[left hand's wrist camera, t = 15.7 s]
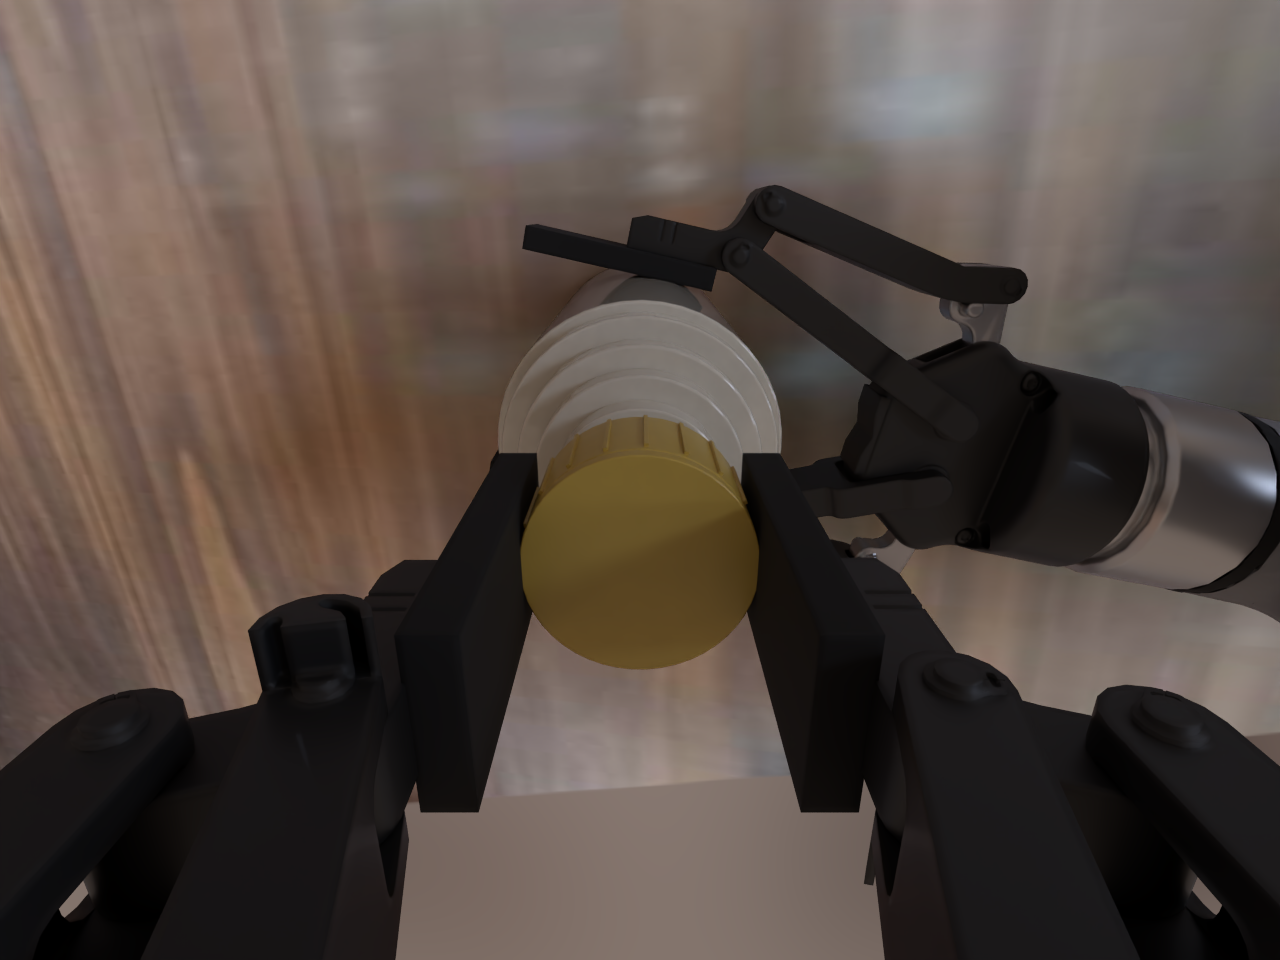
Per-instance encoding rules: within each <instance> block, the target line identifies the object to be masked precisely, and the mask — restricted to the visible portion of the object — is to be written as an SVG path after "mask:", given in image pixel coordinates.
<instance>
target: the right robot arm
mask: <svg viewBox="0 0 1280 960" xmlns="http://www.w3.org/2000/svg"><path fill="white" fill-rule="evenodd" d="M775 231H776V232H779V233H781V234H783V235H786V236H788V237H790V238H793V239H795V240H797V241H800V242H802V243H804V244H807V245H809V246H811V247H814V248H816V249H818V250H821V251H823V252H825V253H828V254H830V255H832V256H835V257H837V258H839V259H842V260H844V261H846V262H849V263H851V264H853V265H856V266H858V267H860V268H863V269H865V270H867V271H870V272H872V273H874V274H877V275H879V276H881V277H884V278H886V279H888V280H891V281H893V282H895V283H898V284H900V285H902V286H905V287H907V288H909V289H912V290H915V291H918V292H921V293H924V294H928V295H932V296H935V297H939V298H940V305H939V309H940V312H941V314H942V315H943V317H945V318H946V319H949V320H952V321H955V322H956V323H958V324H959V325H960V327H961V329H962V338H961V339H959V340H956V341H954V342H951V343H949V344H946V345H944V346H942V347H939V348H937V349H934V350H932V351H929V352H927V353H925V354H922V355H920V356H917V357H915V358H912V359H910V360H908V361H906V360H905V359H904V358H902V357H901V356H900V355H898V354H897V353H896V352H894V351H893V350H891V349H890V348H888V347H887V346H886V345H884V344H883V343H882V342H880V341H879V340H878V339H877V338H875V337H874V336H873V335H871V334H870V333H869V332H868V331H866V330H865V329H864V328H862V327H861V326H860V325H859V324H857V323H856V322H855V321H853V320H852V319H851V318H849V317H848V316H847V315H846V314H844V313H843V312H842V311H840V310H839V309H838V308H837V307H835V306H834V305H833V304H831V303H830V302H829V301H828V300H826V299H825V298H824V297H822V296H821V295H820V294H819V293H817V292H816V291H815V290H813V289H812V288H811V287H810V286H808V285H807V284H806V283H804V282H803V281H802V280H801V279H799V278H798V277H797V276H795V275H794V274H793V273H791V272H790V271H789V270H788V269H786V268H785V267H784V266H782V265H781V264H780V263H779V262H777V261H776V260H775V259H773V258H772V257H771V256H770V255H768V254H767V253H766V252H764V251H763V249H764V247H765V246H766V244H767V242H768V241H769V239H770V238H771V236H772V235H773V233H774V232H775ZM522 249H526V250H530V251H534V252H539V253H543V254H548V255H552V256H556V257H561V258H565V259H570V260H574V261H578V262H583V263H587V264H592V265H596V266H601V267H605V268H609V269H614V270H618V271H623V272H627V273H631V274H636V275H640V276H645V277H649V278H653V279H658V280H663V281H667V282H671V283H676V284H680V285H684V286H689V287H693V288H698V289H702V290H706V291H712V287H713V283H714V279H715V275H716V271H717V270H721V271H725V272H729V273H730V274H732V275H733V276H734V277H735V278H737V279H738V280H739V281H741V282H742V283H743V284H745V285H746V286H747V287H749V288H750V289H751V290H753V291H754V292H755V293H757V294H758V295H759V296H761V297H762V298H763V299H765V300H766V301H767V302H769V303H770V304H771V305H772V306H774V307H775V308H776V309H778V310H779V311H780V312H782V313H783V314H784V315H786V316H787V317H788V318H790V319H791V320H792V321H794V322H795V323H796V324H798V325H799V326H800V327H802V328H803V329H804V330H805V331H807V332H808V333H809V334H811V335H812V336H813V337H815V338H816V339H817V340H819V341H820V342H821V343H823V344H824V345H825V346H827V347H828V348H829V349H831V350H832V351H833V352H835V353H836V354H837V355H838V356H840V357H841V358H842V359H844V360H845V361H846V362H848V363H849V364H850V365H851V366H853V367H854V368H855V369H857V370H858V371H859V372H861V373H862V374H863V375H865V376H866V377H867V378H869V379H870V380H871V381H872V382H871V384H870V385H867V384H864V387H863V390H862V393H861V396H860V399H859V402H858V415H857V423H856V424H855V426H854V427H853V429H852V431H851V432H850V434H849V435H848V437H847V438H846V440H845V443H844V446H843V449H842V452H841V455H840V456H837V457H832V458H826V459H821V460H818V461H816V462H815V463H814V464H813V465H811V466H806V467H800V468H794V469H789V470H790V472H791V474H792V475H793V477H794V479H795V481H796V482H797V484H798V486H799V487H800V489H801V491H802V493H803V494H804V496H805V498H806V499H807V501H808V503H809V505H810V506H811V508H812V510H813V511H814V513H815V515H816V517H822V516H833V517H836V518H852V517H858V516H864V515H870V514H876V516H877V517H878V518H879V519H880V520H881V521H882V523H883V524H884V525H885V526H886V527H887V529H888V531H887V532H886V533H885V534H884V535H883V536H881V537H879V538H875V539H870V538H861V537H856V538H854V539H853V540H852V542H851V545H850V544H847V543H844V542H840V541H836V540H830V541H831V542H832V544H833V546H834V547H835V549H836V551H837V553H838V554H839V556H840V558H877V559H878V560H880V561H881V562H883V563H884V564H886V565H887V566H889V567H890V568H892V569H893V570H895V571H897V572H898V573H899V574H900V573H901V571H902V570H903V568H904V566H905V565H906V563H907V562H908V560H909V559H910V557H911V555H912V554H913V552H914V551H915V549H928V548H931V547H935V546H940V545H957V546H961V547H964V548H968V549H972V550H976V551H980V552H984V553H989V554H994V555H999V556H1004V557H1009V558H1014V559H1019V560H1024V561H1029V562H1034V563H1039V564H1044V565H1049V566H1057V567H1059V566H1064V567H1067V568H1069V569H1071V570H1074V571H1076V572H1081V573H1086V574H1091V575H1097V576H1102V577H1107V578H1113V579H1118V580H1123V581H1129V582H1134V583H1139V584H1145V585H1150V586H1155V587H1161V588H1165V589H1168V590H1172V591H1177V592H1186V593H1190V594H1195V595H1199V596H1204V597H1208V598H1213V599H1217V600H1222V601H1226V602H1231V603H1235V604H1240V605H1244V606H1247V607H1249V608H1252V609H1255V610H1258V611H1260V612H1262V613H1264V614H1266V615H1268V616H1270V617H1272V618H1274V619H1275V620H1277V621H1278V622H1280V422H1279V421H1274V420H1269V419H1264V418H1260V417H1255V416H1251V415H1248V414H1245V413H1242V412H1238V411H1235V410H1231V409H1227V408H1223V407H1218V406H1214V405H1210V404H1205V403H1201V402H1197V401H1192V400H1188V399H1184V398H1179V397H1175V396H1171V395H1167V394H1162V393H1158V392H1154V391H1149V390H1145V389H1140V388H1135V387H1129V386H1123V387H1120V386H1119V385H1117V384H1115V383H1113V382H1110V381H1106V380H1102V379H1097V378H1093V377H1088V376H1084V375H1080V374H1075V373H1071V372H1066V371H1062V370H1058V369H1053V368H1049V367H1044V366H1040V365H1036V364H1031V363H1027V362H1022V361H1019V360H1017V359H1016V358H1015V357H1014V356H1013V355H1012V354H1011V353H1010V352H1009V351H1008V350H1007V349H1006V348H1005V347H1004V346H1002V345H1000V339H1001V335H1002V330H1003V325H1004V320H1005V316H1006V311H1007V306H1008V304H1011V303H1014V302H1016V301H1018V300H1020V299H1021V297H1022V296H1023V295H1024V294H1025V292H1026V289H1027V287H1028V279H1027V277H1026V274H1025V273H1024V272H1023V271H1022V270H1020V269H1016V268H1010V267H1003V266H997V265H990V264H983V263H955V262H953V261H951V260H948V259H946V258H944V257H942V256H939V255H937V254H935V253H932V252H930V251H928V250H926V249H923V248H921V247H919V246H916V245H914V244H912V243H910V242H907V241H905V240H903V239H900V238H898V237H896V236H894V235H891V234H889V233H887V232H885V231H882V230H880V229H878V228H875V227H873V226H871V225H869V224H866V223H864V222H862V221H859V220H857V219H855V218H853V217H850V216H848V215H846V214H844V213H841V212H839V211H837V210H834V209H832V208H830V207H828V206H825V205H823V204H821V203H818V202H816V201H814V200H812V199H809V198H807V197H805V196H802V195H800V194H798V193H796V192H793V191H791V190H789V189H787V188H784V187H782V186H777V185H772V186H766V187H762V188H759V189H755V190H754V191H753V192H751V193H750V194H749V196H748V198H747V199H746V203H745V205H744V206H743V208H742V209H741V211H740V212H739V214H738V216H737V217H736V219H735V220H734V221H733V223H732V224H731V225H729V226H728V227H727V228H724V229H722V230H717V231H715V230H709V229H704V228H700V227H696V226H691V225H687V224H683V223H679V222H674V221H670V220H666V219H662V218H657V217H653V216H649V215H646V216H641V217H635V218H632V222H631V227H630V232H629V237H628V242H627V245H626V244H621V243H617V242H613V241H608V240H604V239H600V238H595V237H591V236H587V235H582V234H578V233H573V232H569V231H565V230H560V229H556V228H552V227H547V226H543V225H539V224H534V225H526V228H525V234H524V241H523V248H522ZM498 456H499V449H498V451H497V452H496V454H495V456H494V457H493V459H492V461H491V465H490V470H491V468H492V466H493V464H494V463H495V461H496V459H497V457H498Z"/></svg>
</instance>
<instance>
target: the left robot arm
mask: <svg viewBox="0 0 1280 960" xmlns="http://www.w3.org/2000/svg"><path fill="white" fill-rule="evenodd" d="M741 486H742V489H743V491H744V494H745V497H746V499H747V502H748V504H746V506H747V509H748V512H749V514H750V517H751V520H752V523H753V525H754V528H755V531H756V534H757V538H758V542H759V561H758V576H757V588H756V593H755V595H754V598H753V600H752V603H751V605H750V607H749V608H748V610H747V613H748V617H749V621H750V624H751V628H752V632H753V636H754V639H755V643H756V647H757V650H758V654H759V658H760V662H761V665H762V669H763V673H764V677H765V680H766V684H767V688H768V691H769V695H770V699H771V703H772V706H773V710H774V714H775V717H776V721H777V725H778V729H779V732H780V736H781V740H782V744H783V747H784V751H785V755H786V758H787V762H788V766H789V770H790V773H791V777H792V781H793V784H794V788H795V792H796V796H797V799H798V803H799V807H800V810H801V812H859V808H860V801H861V795H862V788H863V782H864V780H865V782H866V785H867V787H868V790H869V792H870V795H871V797H872V800H873V802H874V805H875V807H876V811H875V818H874V824H873V830H872V836H871V842H870V848H869V854H868V860H867V866H866V873H865V880H864V884H868V885H873V883H874V878H875V877H876V886H877V895H878V904H879V912H880V921H881V930H882V939H883V948H884V956H885V960H1280V766H1279V765H1277V764H1276V763H1275V762H1274V761H1273V760H1272V759H1270V758H1269V757H1268V756H1267V755H1266V754H1264V753H1263V752H1262V751H1261V750H1260V749H1258V748H1257V747H1256V746H1255V745H1254V744H1252V743H1251V742H1250V741H1249V740H1248V739H1247V738H1245V737H1244V736H1243V735H1242V734H1241V733H1239V732H1238V731H1237V730H1236V729H1235V728H1233V727H1232V726H1231V725H1230V724H1229V723H1227V722H1226V721H1224V720H1223V719H1221V718H1220V717H1218V716H1217V715H1216V714H1214V713H1213V712H1211V711H1210V710H1208V709H1207V708H1205V707H1203V706H1201V705H1199V704H1197V703H1194V702H1192V701H1190V700H1188V699H1186V698H1184V697H1182V696H1180V695H1178V694H1175V693H1172V692H1169V691H1163V690H1162V689H1157V688H1152V687H1144V686H1134V685H1122V686H1116V687H1110V688H1107V689H1106V690H1104V691H1103V692H1102V693H1101V694H1100V695H1098V696H1097V699H1096V703H1095V706H1094V710H1093V713H1092V716H1090V715H1086V714H1081V713H1076V712H1071V711H1066V710H1061V709H1056V708H1051V707H1046V706H1041V705H1037V704H1034V703H1030V702H1026V701H1022V699H1021V697H1020V695H1019V692H1018V690H1017V689H1016V688H1015V686H1014V685H1013V684H1012V682H1011V681H1010V680H1009V679H1008V677H1007V676H1005V675H1004V674H1003V673H1001V672H1000V671H998V670H997V669H996V668H994V667H993V666H991V665H990V664H988V663H985V662H983V661H981V660H978V659H976V658H974V657H971V656H969V655H965V654H960V653H956V652H955V650H954V649H953V648H952V646H951V645H950V643H949V642H948V641H947V639H946V638H945V636H944V635H943V634H942V632H941V631H940V630H939V628H938V627H937V625H936V624H935V623H934V621H933V620H932V618H931V617H930V616H929V614H928V613H927V611H926V610H925V609H922V605H921V603H920V602H919V600H918V599H917V598H916V596H915V595H914V594H911V589H910V588H909V586H908V585H907V584H906V582H905V581H904V580H903V578H902V577H901V575H900V574H899V573H898V572H897V571H895V570H893V569H892V568H890V567H889V566H887V565H886V564H884V563H883V562H881V561H880V560H878V559H877V558H840V556H839V554H838V553H837V551H836V549H835V547H834V546H833V544H832V542H831V541H830V539H829V537H828V535H827V534H826V532H825V530H824V529H823V527H822V525H821V523H820V522H819V520H818V518H817V517H816V515H815V513H814V511H813V510H812V508H811V506H810V505H809V503H808V501H807V499H806V498H805V496H804V494H803V493H802V491H801V489H800V487H799V486H798V484H797V482H796V481H795V479H794V477H793V475H792V474H791V472H790V470H789V469H788V467H787V465H786V463H785V462H784V460H783V458H782V457H781V455H780V453H743V455H742V472H741ZM537 487H539V480H538V463H537V453H500V454H499V456H498V457H497V459H496V461H495V463H494V464H493V466H492V468H491V470H490V471H489V473H488V475H487V476H486V478H485V480H484V482H483V483H482V485H481V487H480V488H479V490H478V492H477V494H476V495H475V497H474V499H473V500H472V502H471V504H470V506H469V507H468V509H467V511H466V512H465V514H464V516H463V518H462V519H461V521H460V523H459V524H458V526H457V528H456V530H455V531H454V533H453V535H452V536H451V538H450V540H449V542H448V543H447V545H446V547H445V548H444V550H443V552H442V554H441V555H440V557H439V559H438V560H404V561H402V562H401V563H399V564H398V565H396V566H394V567H393V568H391V569H390V570H388V571H387V572H385V573H384V574H382V575H381V576H380V578H379V579H378V580H377V582H376V583H375V585H374V586H373V587H372V589H371V590H370V592H369V595H368V596H366V597H365V599H364V600H363V599H362V598H358V597H354V596H350V595H346V594H322V595H317V596H312V597H307V598H301V599H298V600H295V601H293V602H290V603H287V604H284V605H282V606H279V607H277V608H275V609H273V610H272V611H270V612H268V613H267V614H265V615H264V616H262V617H260V618H259V619H258V620H257V621H256V622H255V623H254V624H253V626H252V627H251V628H250V629H249V630H248V633H249V637H250V641H251V646H252V650H253V654H254V658H255V662H256V666H257V670H258V675H259V679H260V683H261V687H262V694H261V696H260V698H259V700H258V702H257V704H254V705H250V706H246V707H243V708H239V709H234V710H229V711H224V712H219V713H214V714H209V715H204V716H200V717H195V718H190V719H189V718H188V715H187V712H186V708H185V705H184V701H183V699H182V698H181V697H179V696H178V695H177V694H176V693H175V692H173V691H170V690H164V689H158V688H149V689H138V690H129V691H124V692H120V693H118V694H116V695H115V694H112V695H109V696H106V697H103V698H101V699H98V700H97V701H95V702H93V703H91V704H89V705H87V706H85V707H82V708H80V709H78V710H76V711H74V712H73V713H71V714H70V715H68V716H67V717H66V718H64V719H63V720H61V721H60V722H58V723H57V724H55V725H54V726H52V727H51V728H50V729H49V730H48V731H47V732H45V733H44V734H43V735H42V736H41V737H39V738H38V739H37V740H36V741H35V742H34V743H32V744H31V745H30V746H29V747H28V748H26V749H25V750H24V751H23V752H22V753H21V754H19V755H18V756H17V757H16V758H15V759H13V760H12V761H11V762H10V763H9V764H7V765H6V766H5V767H4V768H3V769H2V770H0V960H395V958H396V949H397V940H398V931H399V923H400V914H401V905H402V896H403V888H404V878H405V870H406V861H407V852H408V843H409V837H408V830H407V824H406V817H405V811H404V810H405V807H406V805H407V802H408V800H409V797H410V795H411V792H412V790H413V787H414V785H415V782H416V785H417V791H418V798H419V804H420V811H421V812H479V809H480V805H481V801H482V798H483V794H484V790H485V787H486V783H487V779H488V775H489V772H490V768H491V764H492V760H493V757H494V753H495V749H496V746H497V742H498V738H499V734H500V731H501V727H502V723H503V720H504V716H505V712H506V708H507V705H508V701H509V697H510V694H511V690H512V686H513V682H514V679H515V675H516V671H517V668H518V664H519V660H520V656H521V653H522V649H523V645H524V641H525V638H526V634H527V630H528V627H529V623H530V619H531V615H532V612H533V611H532V609H531V607H530V605H529V603H528V602H527V599H526V596H525V593H524V591H523V581H522V567H521V552H520V545H521V541H522V536H523V532H524V530H525V528H524V526H523V523H524V520H525V518H526V515H527V512H528V510H529V507H530V504H531V502H532V499H533V496H534V494H535V491H536V488H537ZM1197 877H1198V878H1199V879H1200V880H1201V881H1202V882H1203V884H1204V885H1205V886H1206V887H1207V888H1208V889H1209V890H1210V892H1211V893H1212V894H1213V895H1214V896H1215V897H1216V898H1217V900H1218V901H1219V902H1220V903H1221V904H1222V907H1221V909H1220V911H1219V913H1218V914H1217V915H1215V914H1214V913H1212V912H1211V911H1210V910H1209V909H1208V908H1207V907H1206V906H1205V905H1204V904H1203V903H1202V902H1201V901H1200V899H1199V898H1198V897H1197V896H1196V895H1195V893H1194V892H1193V891H1192V889H1193V887H1194V884H1195V882H1196V879H1197ZM82 881H84V883H85V886H86V888H87V890H88V895H87V896H86V897H85V898H84V899H83V901H82V902H81V903H80V904H79V905H78V906H77V908H75V909H74V910H73V911H72V912H71V913H70V914H68V915H67V916H66V917H65V918H64V917H63V916H62V915H61V913H60V911H59V908H60V907H61V905H62V904H63V903H64V902H65V901H66V900H67V899H68V897H69V896H70V895H71V894H72V893H73V892H74V890H75V889H76V888H77V887H78V886H79V885H80V883H81V882H82Z"/></svg>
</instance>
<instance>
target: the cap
mask: <svg viewBox="0 0 1280 960" xmlns="http://www.w3.org/2000/svg"><path fill="white" fill-rule="evenodd" d="M746 504H748V502H747V499H746V497H745V494H744V491H743V489H742V486H741V483H740V480H739V478H738V475H737V472H736V470H735V468H734V466H732V467H730V465H729V463H728V462H727V460H726V459H725V458H724V456H723V455H722V454H721V452H720V451H719V450H718V449H717V448H716V447H715V445H714V442H713V441H712V440H710V441H708V440H707V439H705V438H704V437H703V436H701V435H700V434H698V433H697V432H695V431H693V430H691V429H690V428H688V427H685V426H684V424H683V423H681V422H679V424H678V423H676V422H672V421H668V420H664V419H660V418H652V417H648V415H643V417H628V418H620V419H615V420H612V421H611V419H607V422H604V423H602V424H599V425H597V426H594V427H592V428H590V429H588V430H587V431H585V432H583V433H581V434H580V435H579V434H578V433H577V434H576V435H574V439H573V440H572V441H570V442H569V443H568V444H567V445H566V446H565V447H564V448H563V449H562V450H561V451H560V452H559V453H558V455H557V456H556V457H555V458H553V457H552V458H551V459H550V461H549V464H548V467H547V470H546V472H545V475H544V478H543V481H542V483H541V486H540V487H537V488H536V491H535V494H534V496H533V499H532V502H531V504H530V507H529V510H528V512H527V515H526V518H525V520H524V523H523V526H524V528H525V530H524V532H523V536H522V541H521V545H520V552H521V567H522V581H523V591H524V593H525V596H526V599H527V602H528V603H529V605H530V607H531V609H532V611H533V613H534V615H535V616H536V617H537V619H538V620H539V621H540V623H541V624H542V626H543V627H544V628H545V629H546V630H547V631H548V632H549V633H550V634H551V635H552V636H553V637H554V638H555V639H556V640H558V641H559V642H560V643H561V644H562V645H564V646H565V647H567V648H568V649H570V650H572V651H573V652H575V653H577V654H579V655H581V656H583V657H585V658H587V659H589V660H592V661H595V662H598V663H600V664H604V665H608V666H612V667H617V668H625V669H655V668H663V667H667V666H672V665H676V664H679V663H682V662H685V661H688V660H691V659H693V658H695V657H697V656H699V655H701V654H703V653H705V652H706V651H708V650H710V649H711V648H713V647H714V646H716V645H717V644H718V643H720V642H721V641H722V640H723V639H725V638H726V637H727V636H728V635H729V634H730V633H731V632H732V631H733V630H734V629H735V628H736V626H737V625H738V624H739V622H740V621H741V620H742V618H743V617H744V616H745V614H746V612H747V610H748V608H749V607H750V605H751V603H752V600H753V598H754V595H755V593H756V588H757V576H758V561H759V542H758V538H757V534H756V531H755V528H754V525H753V523H752V520H751V517H750V514H749V512H748V509H747V506H746Z"/></svg>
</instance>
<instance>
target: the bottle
mask: <svg viewBox="0 0 1280 960" xmlns="http://www.w3.org/2000/svg"><path fill="white" fill-rule="evenodd" d="M643 415H648V417H652V418H660V419H664V420H668V421H672V422H676V423H678V424H679V422H681V423H683V424H684V426H685V427H688V428H690V429H691V430H693V431H695V432H697V433H698V434H700V435H701V436H703V437H704V438H705V439H707V440H708V441H710V440H712V441H713V442H714V445H715V447H716V448H717V449H718V450H719V451H720V452H721V454H722V455H723V456H724V458H725V459H726V460H727V462H728V463H729V465H730V467H732V466H734V468H735V470H736V472H737V475H738V478H739V480H740V483H741V472H742V455H743V453H780V454H781V446H782V426H781V417H780V411H779V407H778V403H777V399H776V395H775V392H774V390H773V387H772V385H771V383H770V380H769V378H768V376H767V374H766V373H765V371H764V369H763V367H762V366H761V364H760V362H759V361H758V360H757V358H756V357H755V356H754V354H753V353H752V352H751V351H750V349H749V348H748V347H747V346H746V344H745V343H744V342H743V341H742V339H741V338H740V337H739V336H738V335H737V333H736V332H735V331H734V330H733V328H732V327H731V326H730V325H729V323H728V322H727V321H726V320H725V318H724V317H723V316H722V315H721V314H720V312H719V311H718V310H717V309H716V307H715V306H714V305H713V304H712V302H711V301H710V300H709V299H708V297H707V296H706V295H705V294H704V292H703V291H702V290H701V289H698V288H693V287H689V286H684V285H680V284H676V283H671V282H667V281H663V280H658V279H653V278H649V277H645V276H640V275H636V274H631V273H627V272H623V271H618V270H614V269H607V270H605V271H603V272H601V273H599V274H597V275H596V276H594V277H593V278H592V279H590V280H589V281H587V282H586V283H585V284H584V285H583V286H582V287H581V288H580V289H579V290H578V291H577V292H576V293H575V295H574V296H573V297H572V298H571V299H570V301H569V302H568V303H567V304H566V306H565V307H564V308H563V309H562V310H561V312H560V313H559V314H558V315H557V317H556V318H555V319H554V320H553V322H552V323H551V324H550V325H549V327H548V328H547V329H546V330H545V331H544V333H543V334H542V335H541V336H540V338H539V339H538V340H537V341H536V343H535V344H534V345H533V346H532V348H531V349H530V350H529V351H528V352H527V354H526V355H525V356H524V357H523V359H522V361H521V362H520V364H519V365H518V367H517V368H516V370H515V372H514V373H513V375H512V377H511V380H510V382H509V384H508V386H507V388H506V391H505V394H504V398H503V401H502V404H501V408H500V415H499V422H498V449H499V454H500V453H537V463H538V480H539V487H540V486H541V483H542V481H543V478H544V475H545V472H546V470H547V467H548V464H549V461H550V459H551V458H552V457H553V458H555V457H556V456H557V455H558V453H559V452H560V451H561V450H562V449H563V448H564V447H565V446H566V445H567V444H568V443H569V442H570V441H572V440H573V439H574V435H576V434H577V433H578V434H579V435H580V434H581V433H583V432H585V431H587V430H588V429H590V428H592V427H594V426H597V425H599V424H602V423H604V422H607V419H611V421H612V420H615V419H620V418H628V417H643Z"/></svg>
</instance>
